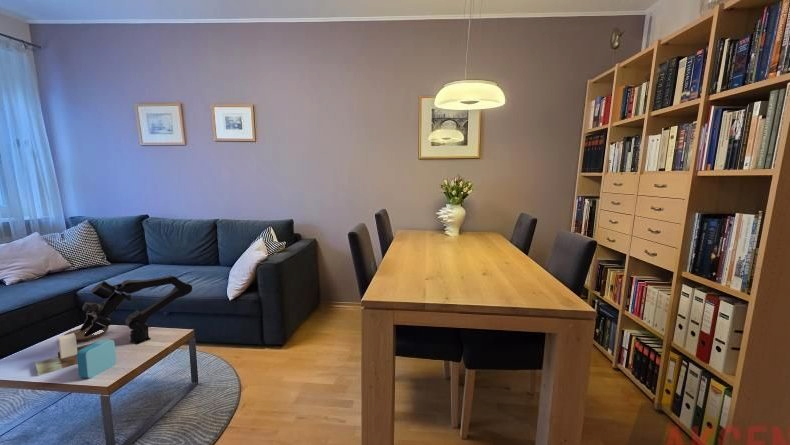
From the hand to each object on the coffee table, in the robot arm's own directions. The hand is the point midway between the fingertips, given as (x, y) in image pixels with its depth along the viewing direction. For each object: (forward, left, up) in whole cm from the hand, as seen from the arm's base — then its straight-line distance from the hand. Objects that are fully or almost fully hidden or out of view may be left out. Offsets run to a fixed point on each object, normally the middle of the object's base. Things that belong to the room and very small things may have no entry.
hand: (82, 333), depth 148 cm
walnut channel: (+4, -1, -12) cm, 12 cm away
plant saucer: (-11, -25, -12) cm, 30 cm away
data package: (+4, +19, -12) cm, 23 cm away
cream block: (+5, -1, -10) cm, 11 cm away
